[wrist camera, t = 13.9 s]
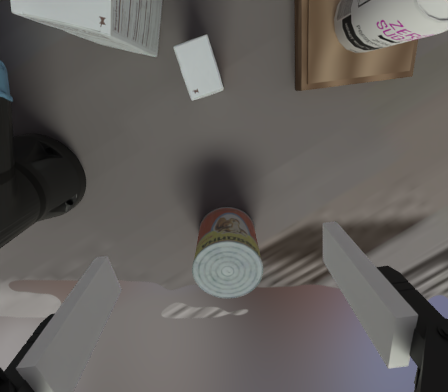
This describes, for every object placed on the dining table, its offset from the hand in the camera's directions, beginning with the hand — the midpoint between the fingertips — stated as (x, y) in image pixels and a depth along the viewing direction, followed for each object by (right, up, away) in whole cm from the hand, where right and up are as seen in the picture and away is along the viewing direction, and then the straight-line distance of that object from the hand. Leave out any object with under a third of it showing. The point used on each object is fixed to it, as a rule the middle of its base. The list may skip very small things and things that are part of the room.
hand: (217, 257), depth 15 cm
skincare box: (-2, +23, +25) cm, 34 cm away
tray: (+19, +29, +22) cm, 41 cm away
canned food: (+1, -4, +36) cm, 36 cm away
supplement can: (+19, +27, +18) cm, 38 cm away
